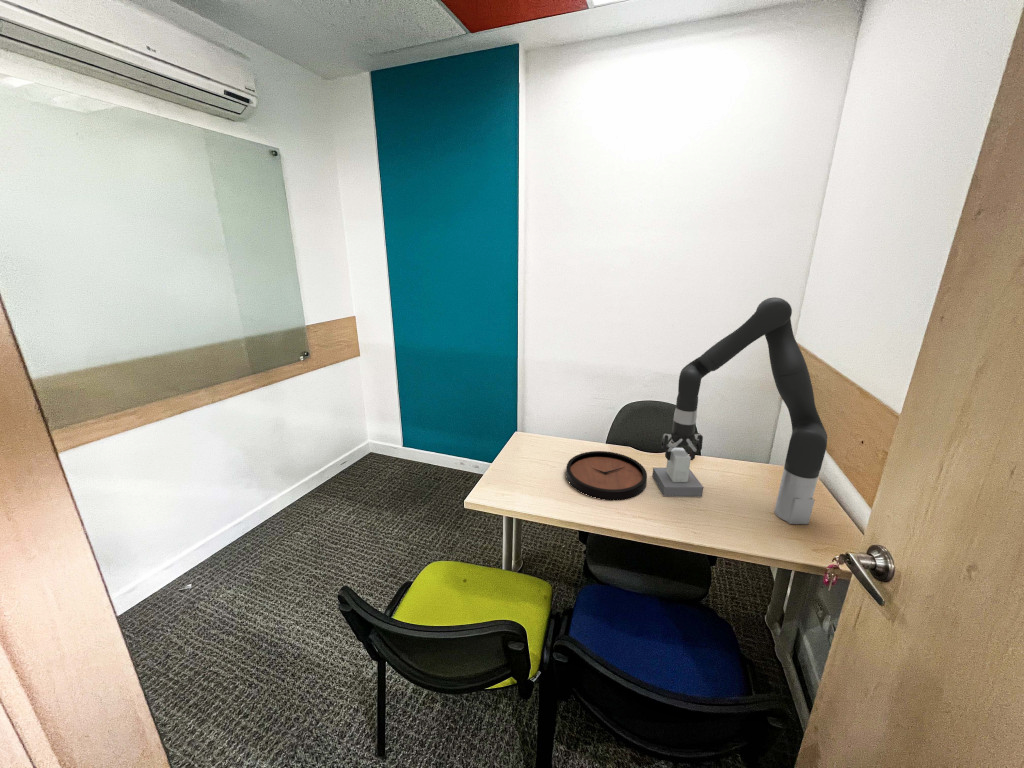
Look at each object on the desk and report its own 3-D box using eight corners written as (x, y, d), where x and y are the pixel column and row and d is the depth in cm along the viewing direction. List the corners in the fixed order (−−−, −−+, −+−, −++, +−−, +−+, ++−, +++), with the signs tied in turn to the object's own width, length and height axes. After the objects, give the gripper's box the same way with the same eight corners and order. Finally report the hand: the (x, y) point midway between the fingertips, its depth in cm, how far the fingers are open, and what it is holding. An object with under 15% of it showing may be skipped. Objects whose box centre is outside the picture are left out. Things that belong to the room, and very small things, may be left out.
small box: (687, 482, 148) (691, 457, 145) (672, 482, 148) (675, 457, 145) (680, 471, 156) (683, 447, 153) (665, 471, 156) (668, 447, 153)
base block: (702, 496, 146) (703, 487, 145) (663, 496, 147) (664, 487, 146) (687, 476, 160) (688, 467, 159) (652, 476, 160) (653, 467, 159)
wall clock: (567, 489, 146) (565, 449, 175) (567, 499, 147) (565, 457, 176) (655, 493, 142) (638, 452, 172) (654, 503, 144) (637, 460, 173)
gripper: (668, 424, 141) (663, 464, 146) (709, 423, 141) (702, 464, 146) (661, 415, 148) (657, 454, 154) (700, 415, 148) (694, 454, 153)
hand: (679, 459), depth 150 cm, fingers open, 8 cm apart
